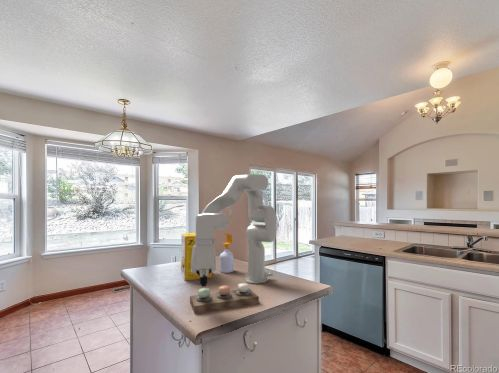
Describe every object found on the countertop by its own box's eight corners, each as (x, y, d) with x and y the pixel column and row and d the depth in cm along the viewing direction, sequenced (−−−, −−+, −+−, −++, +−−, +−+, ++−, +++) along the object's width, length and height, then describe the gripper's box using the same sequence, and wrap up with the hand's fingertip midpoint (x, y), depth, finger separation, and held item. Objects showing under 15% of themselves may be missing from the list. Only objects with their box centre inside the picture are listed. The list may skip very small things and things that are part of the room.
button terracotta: (227, 290, 117) (227, 285, 117) (231, 293, 113) (231, 288, 113) (217, 291, 116) (217, 286, 116) (220, 295, 111) (220, 289, 111)
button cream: (246, 287, 121) (246, 282, 121) (250, 291, 116) (250, 285, 116) (236, 289, 119) (236, 283, 119) (240, 292, 114) (240, 287, 115)
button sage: (208, 293, 114) (208, 287, 114) (210, 296, 110) (210, 290, 110) (197, 294, 112) (197, 288, 112) (199, 298, 108) (199, 292, 108)
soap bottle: (216, 271, 166) (216, 233, 167) (225, 268, 173) (225, 231, 175) (227, 273, 161) (227, 234, 162) (236, 270, 168) (236, 232, 170)
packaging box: (180, 273, 163) (181, 233, 164) (206, 270, 169) (206, 232, 170) (184, 280, 148) (184, 236, 149) (212, 277, 153) (212, 235, 155)
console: (248, 294, 125) (248, 286, 125) (258, 303, 113) (258, 295, 114) (190, 302, 114) (190, 294, 115) (194, 313, 103) (194, 304, 103)
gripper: (218, 240, 118) (218, 281, 117) (185, 242, 113) (184, 285, 112) (223, 242, 111) (222, 286, 110) (187, 244, 106) (186, 290, 105)
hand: (203, 285), depth 111 cm, fingers closed
